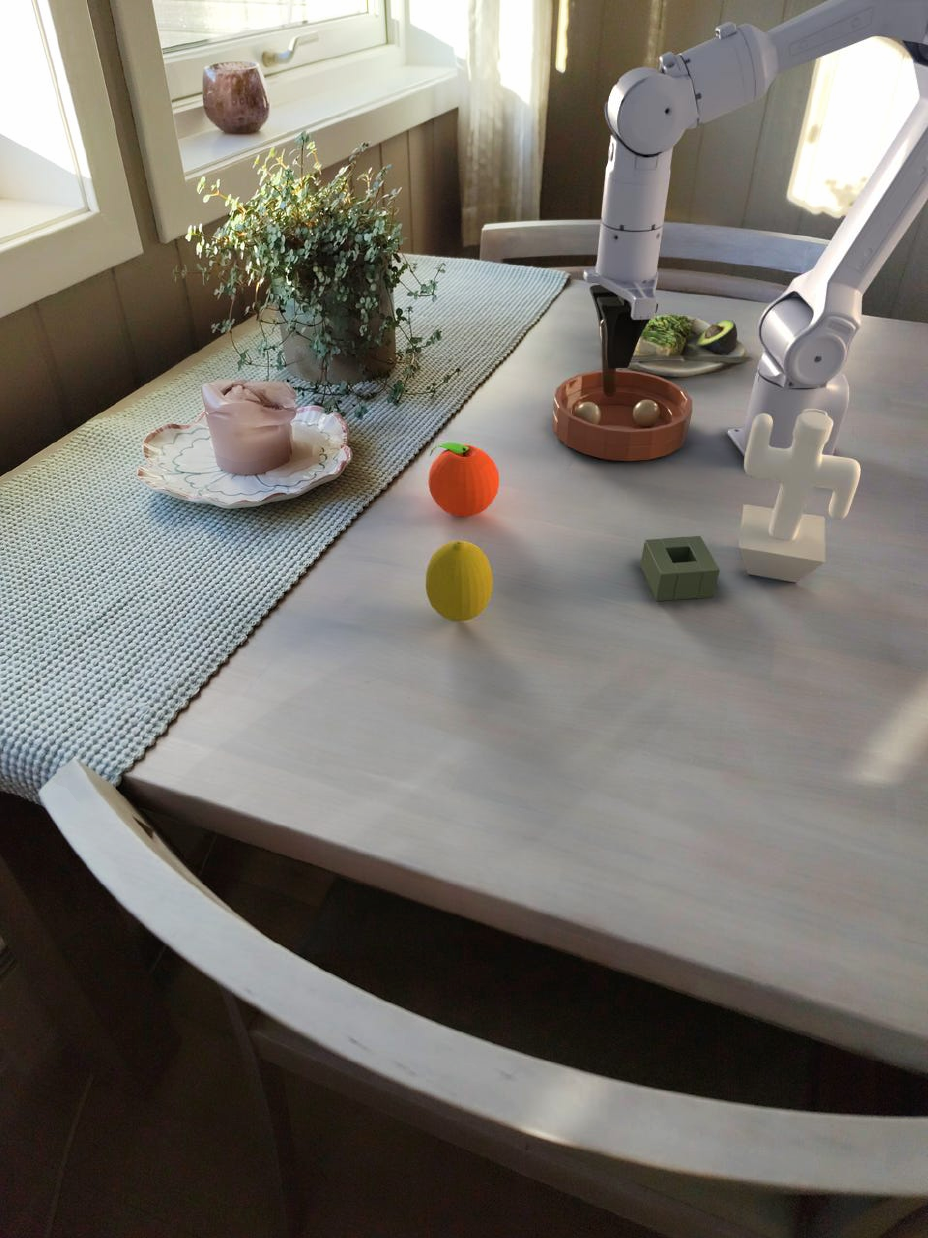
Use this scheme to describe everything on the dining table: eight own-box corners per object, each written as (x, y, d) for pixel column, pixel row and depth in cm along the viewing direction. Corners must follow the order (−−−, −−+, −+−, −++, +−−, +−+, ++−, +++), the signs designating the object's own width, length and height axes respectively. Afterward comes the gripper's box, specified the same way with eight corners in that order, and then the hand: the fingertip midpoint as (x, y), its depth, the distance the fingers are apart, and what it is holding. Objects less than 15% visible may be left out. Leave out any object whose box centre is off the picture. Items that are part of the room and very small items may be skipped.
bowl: (663, 397, 106) (668, 366, 103) (704, 460, 94) (711, 427, 92) (541, 404, 104) (543, 372, 102) (567, 468, 93) (570, 435, 90)
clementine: (407, 508, 87) (404, 445, 82) (452, 481, 91) (452, 419, 86) (467, 539, 83) (467, 474, 78) (512, 509, 87) (515, 446, 82)
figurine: (826, 597, 76) (880, 446, 66) (717, 578, 78) (753, 428, 69) (826, 551, 81) (875, 404, 72) (723, 534, 84) (758, 389, 74)
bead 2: (652, 435, 98) (659, 419, 100) (658, 413, 96) (665, 398, 98) (627, 427, 99) (634, 412, 101) (633, 405, 97) (640, 390, 98)
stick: (605, 392, 92) (602, 314, 86) (618, 393, 91) (616, 315, 86) (601, 398, 91) (597, 320, 85) (614, 399, 90) (611, 321, 85)
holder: (694, 562, 80) (700, 535, 78) (713, 597, 76) (720, 570, 74) (639, 566, 80) (644, 539, 78) (656, 601, 76) (661, 574, 74)
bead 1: (601, 396, 98) (588, 400, 96) (609, 421, 98) (596, 426, 96) (579, 404, 100) (566, 408, 98) (587, 429, 100) (574, 434, 98)
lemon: (425, 600, 76) (422, 524, 71) (488, 597, 76) (490, 521, 71) (428, 642, 72) (426, 565, 66) (495, 639, 72) (497, 561, 67)
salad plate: (642, 398, 105) (647, 362, 102) (567, 344, 118) (570, 310, 115) (767, 369, 112) (776, 335, 109) (684, 321, 124) (689, 289, 121)
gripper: (573, 201, 85) (562, 336, 94) (608, 249, 74) (592, 396, 83) (643, 199, 86) (626, 333, 95) (688, 246, 75) (664, 392, 84)
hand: (615, 362), depth 89 cm, fingers closed on stick, 1 cm apart
